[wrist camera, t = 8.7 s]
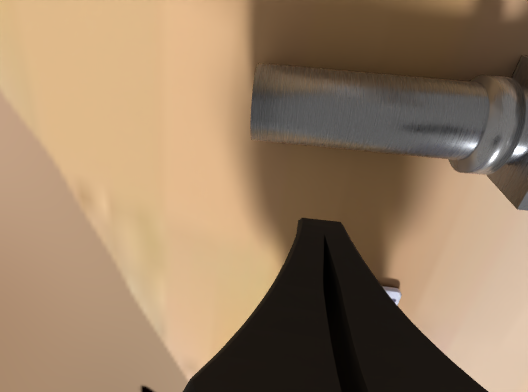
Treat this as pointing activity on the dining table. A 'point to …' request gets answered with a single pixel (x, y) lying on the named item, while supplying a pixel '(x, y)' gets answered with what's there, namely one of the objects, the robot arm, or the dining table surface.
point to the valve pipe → (402, 117)
